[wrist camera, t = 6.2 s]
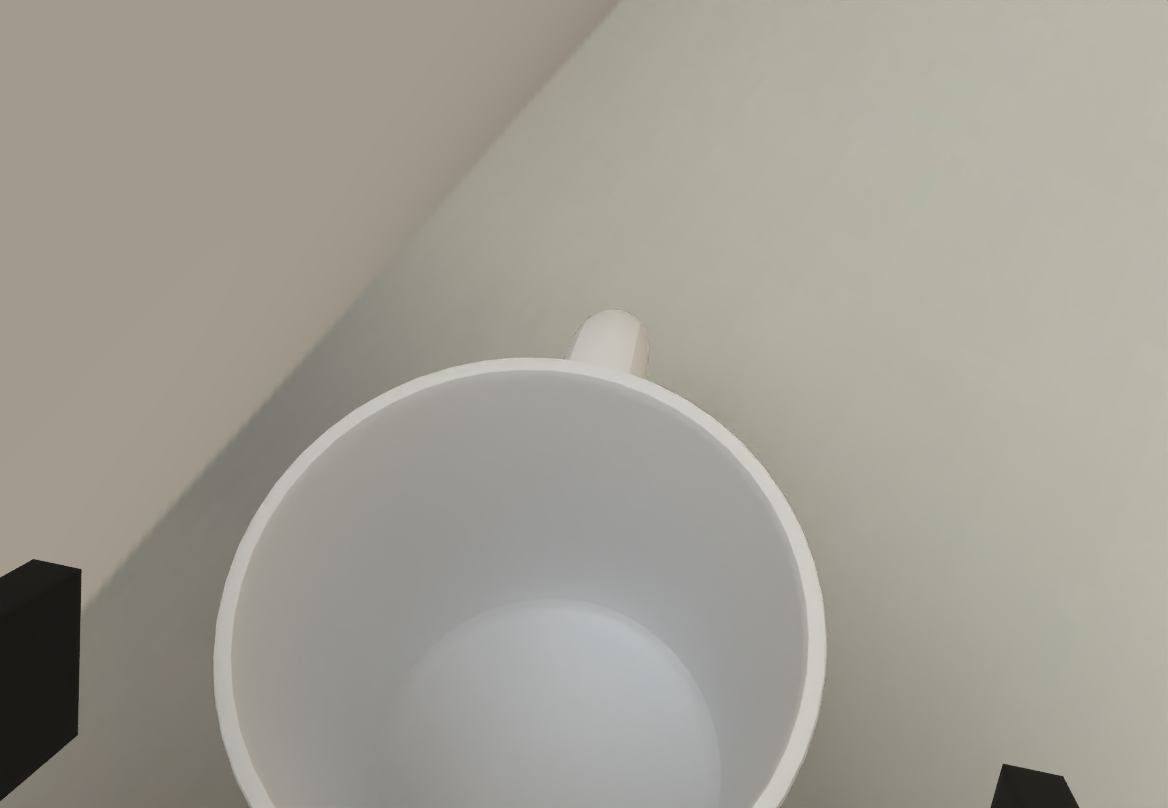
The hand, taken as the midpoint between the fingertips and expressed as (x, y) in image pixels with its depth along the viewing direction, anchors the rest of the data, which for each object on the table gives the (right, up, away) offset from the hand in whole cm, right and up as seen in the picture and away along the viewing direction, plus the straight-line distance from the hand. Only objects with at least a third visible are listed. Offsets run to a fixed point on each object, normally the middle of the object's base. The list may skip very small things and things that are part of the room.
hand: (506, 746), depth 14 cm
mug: (+1, -2, +10) cm, 10 cm away
